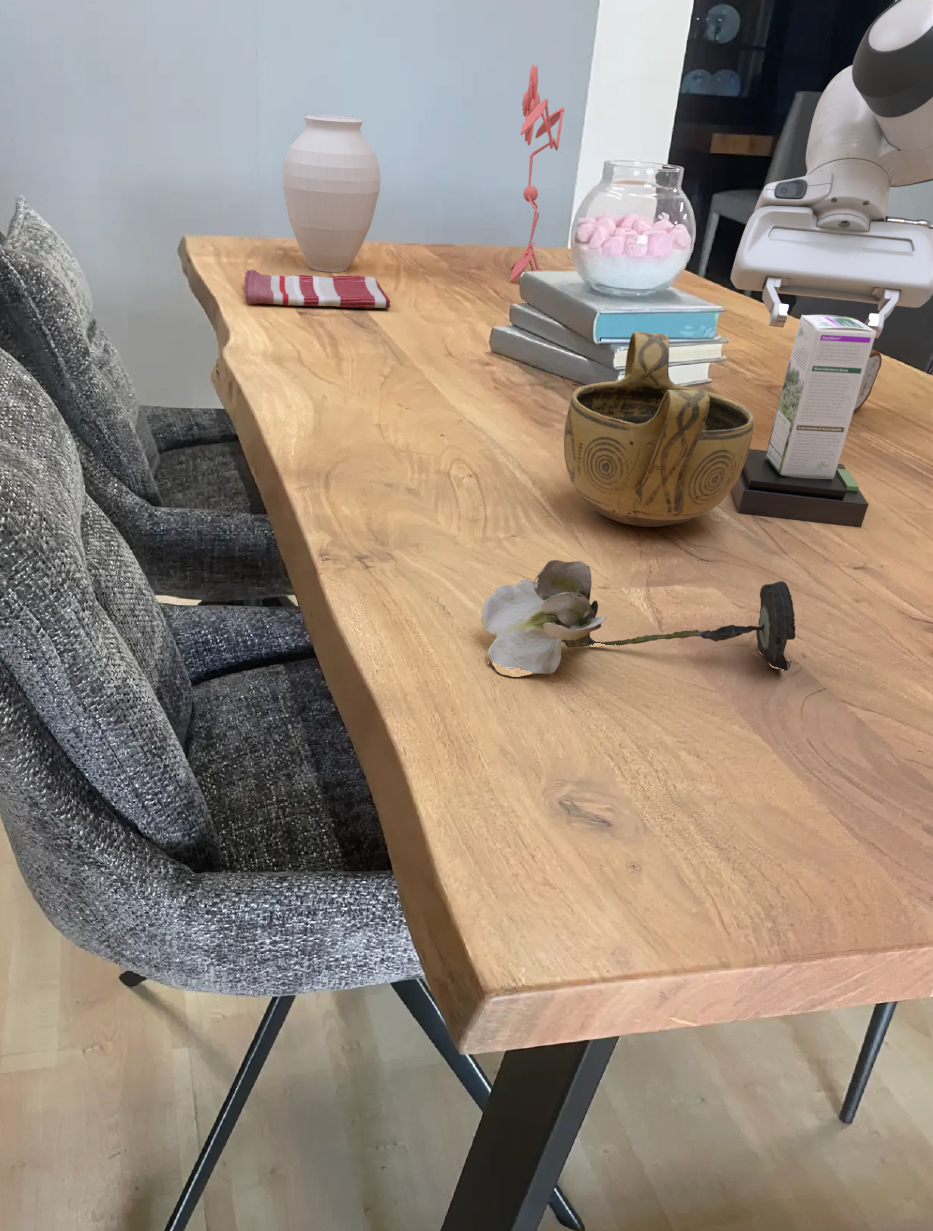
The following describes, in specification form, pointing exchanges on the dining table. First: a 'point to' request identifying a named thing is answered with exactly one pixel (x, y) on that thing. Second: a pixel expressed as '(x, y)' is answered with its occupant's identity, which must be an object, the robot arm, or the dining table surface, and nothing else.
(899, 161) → the robot arm
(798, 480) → the scale
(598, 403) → the ceramic bowl
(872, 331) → the syrup box
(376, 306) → the dish towel
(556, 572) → the artificial flower
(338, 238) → the vase
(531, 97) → the figurine
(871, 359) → the tin
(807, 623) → the dining table surface
